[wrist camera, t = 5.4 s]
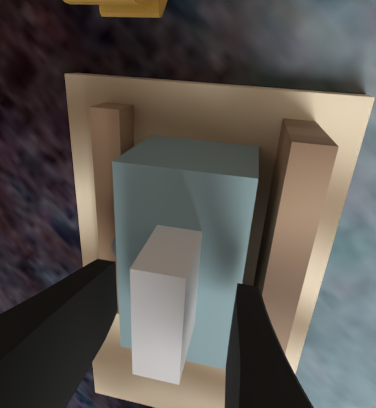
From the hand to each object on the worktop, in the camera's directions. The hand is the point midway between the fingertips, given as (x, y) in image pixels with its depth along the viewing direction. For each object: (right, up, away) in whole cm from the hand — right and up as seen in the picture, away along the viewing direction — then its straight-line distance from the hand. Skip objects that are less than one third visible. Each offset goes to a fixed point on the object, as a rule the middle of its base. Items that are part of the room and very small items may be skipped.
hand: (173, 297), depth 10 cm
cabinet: (+1, +2, +5) cm, 5 cm away
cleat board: (+1, -1, +7) cm, 7 cm away
